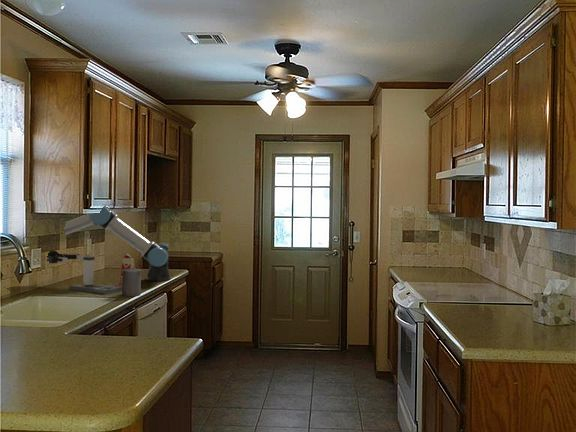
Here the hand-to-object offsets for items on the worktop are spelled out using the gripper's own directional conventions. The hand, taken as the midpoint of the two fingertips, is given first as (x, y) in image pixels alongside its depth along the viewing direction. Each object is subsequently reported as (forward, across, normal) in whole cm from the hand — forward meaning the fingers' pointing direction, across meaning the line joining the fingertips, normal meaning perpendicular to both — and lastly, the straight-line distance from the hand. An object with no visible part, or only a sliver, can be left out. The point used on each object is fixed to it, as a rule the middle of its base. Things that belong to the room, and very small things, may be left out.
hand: (76, 259), depth 324 cm
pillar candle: (+40, 0, -17) cm, 44 cm away
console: (+15, 0, -17) cm, 23 cm away
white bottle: (+9, 0, -14) cm, 17 cm away
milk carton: (+20, -20, -17) cm, 33 cm away
